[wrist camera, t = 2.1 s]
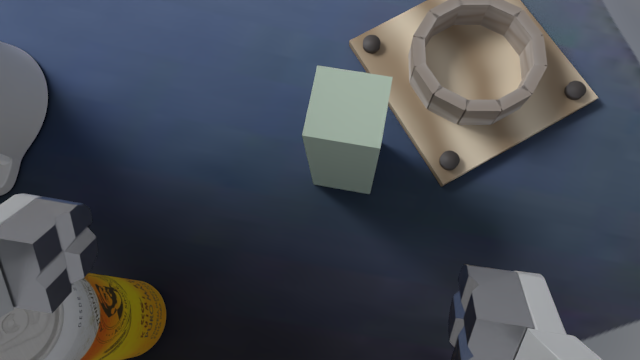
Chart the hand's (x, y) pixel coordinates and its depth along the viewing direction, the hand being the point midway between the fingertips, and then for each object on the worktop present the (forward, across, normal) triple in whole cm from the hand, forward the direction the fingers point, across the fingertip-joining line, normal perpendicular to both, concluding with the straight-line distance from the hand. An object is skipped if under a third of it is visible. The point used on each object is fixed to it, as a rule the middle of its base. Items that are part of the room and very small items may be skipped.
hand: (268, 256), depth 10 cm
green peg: (+29, 0, +13) cm, 32 cm away
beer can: (+18, +16, +24) cm, 34 cm away
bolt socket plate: (+37, -10, +5) cm, 38 cm away
